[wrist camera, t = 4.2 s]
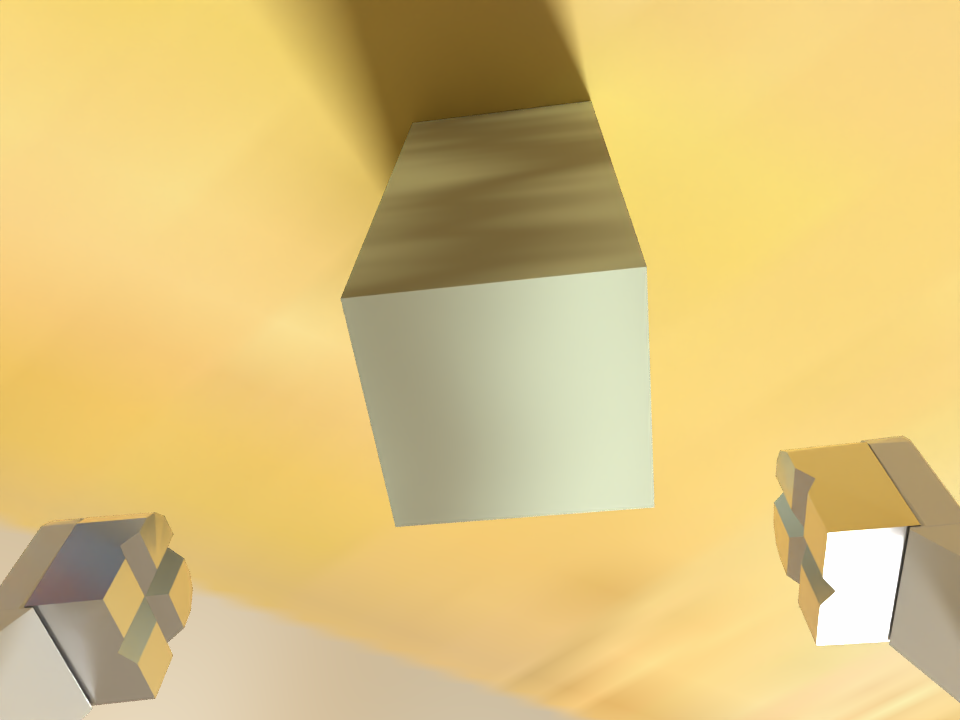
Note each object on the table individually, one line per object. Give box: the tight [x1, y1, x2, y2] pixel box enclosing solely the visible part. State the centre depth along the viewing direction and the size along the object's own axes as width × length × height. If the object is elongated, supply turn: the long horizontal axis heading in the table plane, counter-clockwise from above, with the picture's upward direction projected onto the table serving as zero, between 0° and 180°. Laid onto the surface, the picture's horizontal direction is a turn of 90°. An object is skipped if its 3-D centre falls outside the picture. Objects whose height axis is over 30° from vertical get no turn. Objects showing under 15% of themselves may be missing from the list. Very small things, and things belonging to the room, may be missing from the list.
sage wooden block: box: [341, 101, 654, 527], centre depth 17 cm, size 4×4×10 cm
